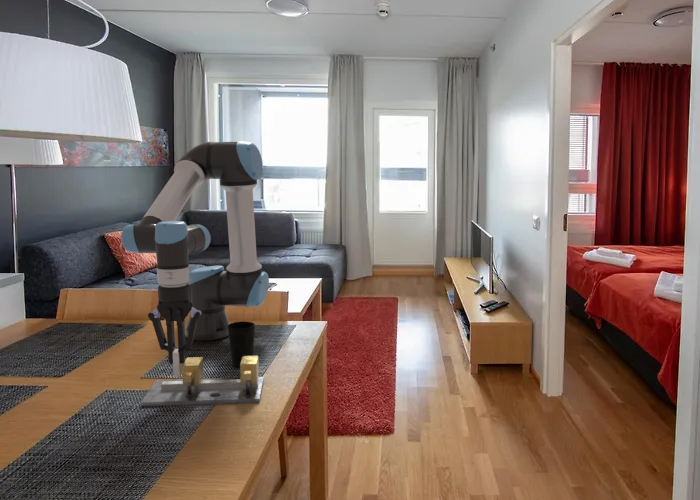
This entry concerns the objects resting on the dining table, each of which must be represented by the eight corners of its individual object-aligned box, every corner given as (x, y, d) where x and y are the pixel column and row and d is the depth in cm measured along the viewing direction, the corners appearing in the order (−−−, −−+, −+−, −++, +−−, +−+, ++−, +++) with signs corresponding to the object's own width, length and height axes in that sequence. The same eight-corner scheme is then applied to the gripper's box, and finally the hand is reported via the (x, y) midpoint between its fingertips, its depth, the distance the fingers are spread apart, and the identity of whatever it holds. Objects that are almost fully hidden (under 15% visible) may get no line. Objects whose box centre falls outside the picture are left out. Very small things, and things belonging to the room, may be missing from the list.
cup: (249, 371, 153) (248, 329, 151) (224, 369, 154) (223, 328, 153) (259, 361, 160) (258, 322, 159) (235, 359, 162) (234, 320, 160)
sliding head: (188, 381, 141) (187, 357, 141) (203, 381, 142) (202, 357, 141) (179, 396, 132) (178, 370, 131) (196, 396, 132) (195, 370, 131)
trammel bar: (165, 383, 141) (164, 358, 140) (259, 381, 143) (258, 355, 142) (155, 399, 132) (153, 371, 131) (255, 396, 134) (255, 368, 133)
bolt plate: (156, 383, 144) (156, 379, 144) (263, 380, 146) (263, 376, 146) (141, 406, 130) (140, 402, 130) (259, 402, 132) (259, 398, 132)
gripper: (142, 287, 130) (147, 381, 134) (197, 287, 131) (201, 380, 135) (151, 281, 138) (155, 370, 141) (203, 280, 139) (206, 369, 142)
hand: (177, 375), depth 138 cm, fingers closed
